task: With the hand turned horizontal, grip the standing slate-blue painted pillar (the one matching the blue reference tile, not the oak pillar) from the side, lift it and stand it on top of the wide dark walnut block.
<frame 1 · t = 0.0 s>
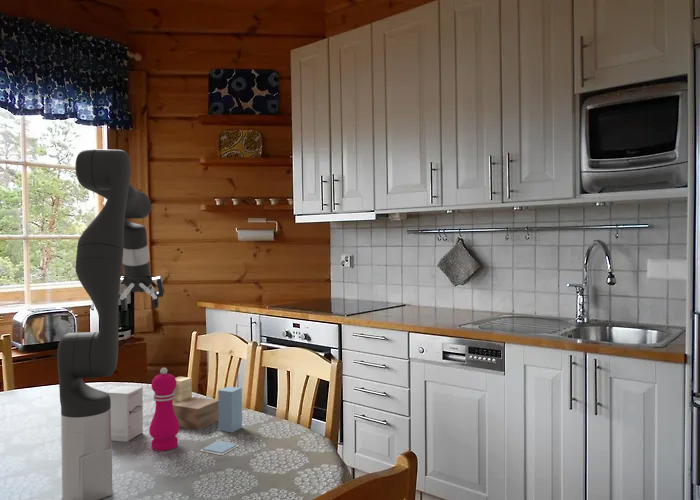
hand: (140, 308, 171), 31 cm above the table, tool tilted 20°, fingers open, 8 cm apart
supplement box: (123, 437, 150), on the table
pepper mill: (164, 447, 142), on the table
reference tile: (219, 448, 141), on the table
walnut block: (196, 423, 161), on the table
blue pillar: (230, 428, 156), on the table
oak pillar: (180, 415, 168), on the table
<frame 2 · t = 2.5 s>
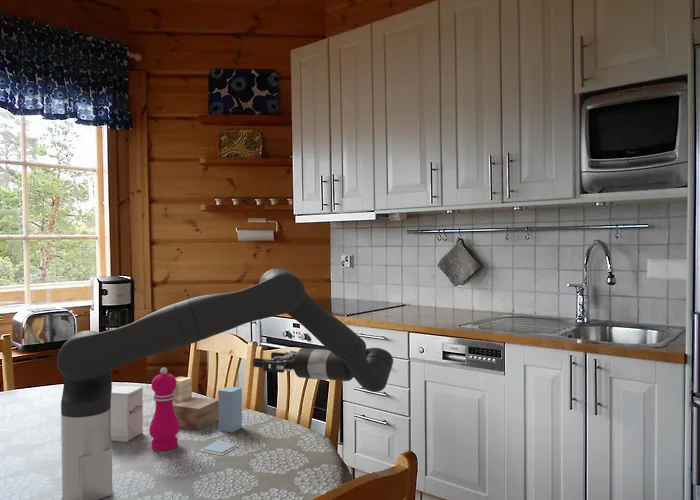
hand: (262, 359, 151), 20 cm above the table, tool horizontal, fingers open, 8 cm apart
nothing on the table moved.
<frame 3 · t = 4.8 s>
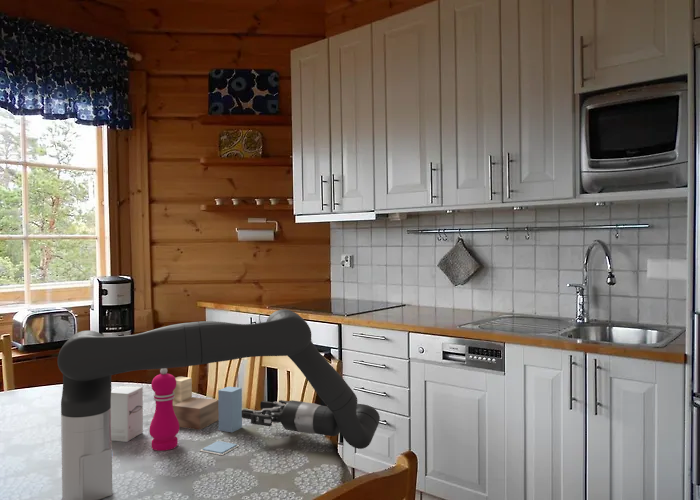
hand: (251, 409, 152), 6 cm above the table, tool horizontal, fingers open, 8 cm apart
nothing on the table moved.
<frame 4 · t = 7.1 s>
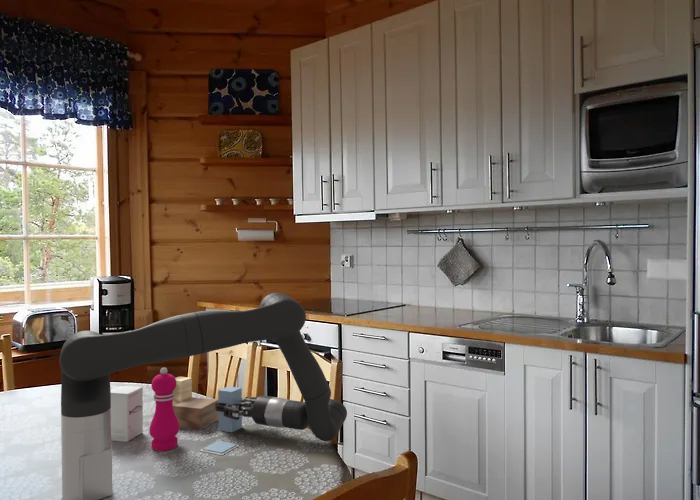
hand: (222, 404, 157), 7 cm above the table, tool horizontal, fingers closed on blue pillar, 4 cm apart
blue pillar: (230, 428, 156), on the table, touching gripper
everything else where it was.
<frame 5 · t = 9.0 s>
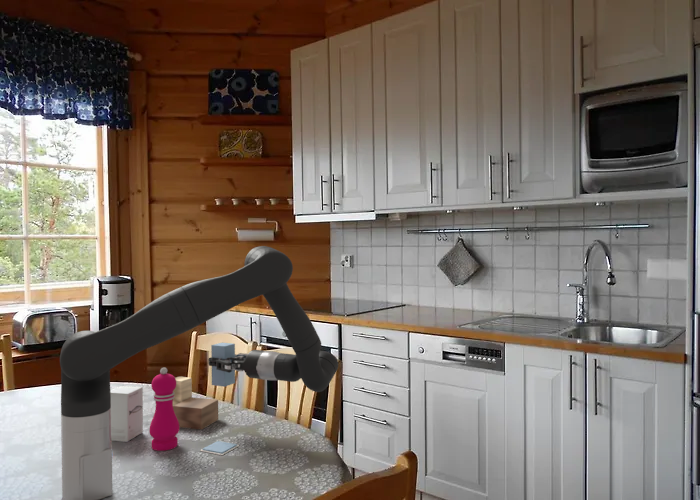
hand: (215, 359, 157), 19 cm above the table, tool horizontal, fingers closed on blue pillar, 4 cm apart
blue pillar: (223, 383, 156), point 12 cm above the table, touching gripper
everything else where it was.
when the fingers open (14 cm above the table, at t = 11.2 s): blue pillar drops 2 cm, resting on walnut block.
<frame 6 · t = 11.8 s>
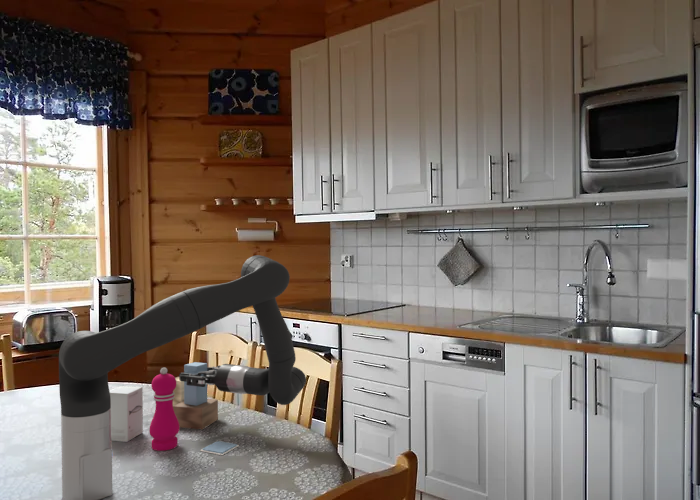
hand: (190, 373, 161), 14 cm above the table, tool horizontal, fingers open, 8 cm apart
walnut block: (196, 423, 161), on the table, touching blue pillar
blue pillar: (195, 402, 161), point 6 cm above the table, touching walnut block
everything else where it was.
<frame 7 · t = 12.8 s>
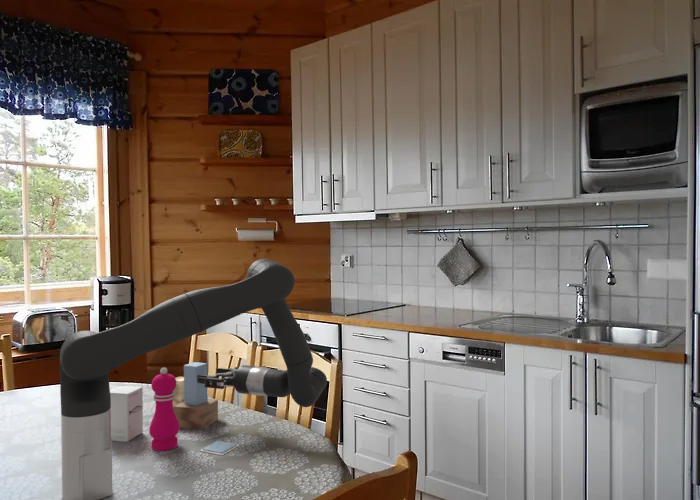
hand: (207, 375, 159), 14 cm above the table, tool horizontal, fingers open, 8 cm apart
nothing on the table moved.
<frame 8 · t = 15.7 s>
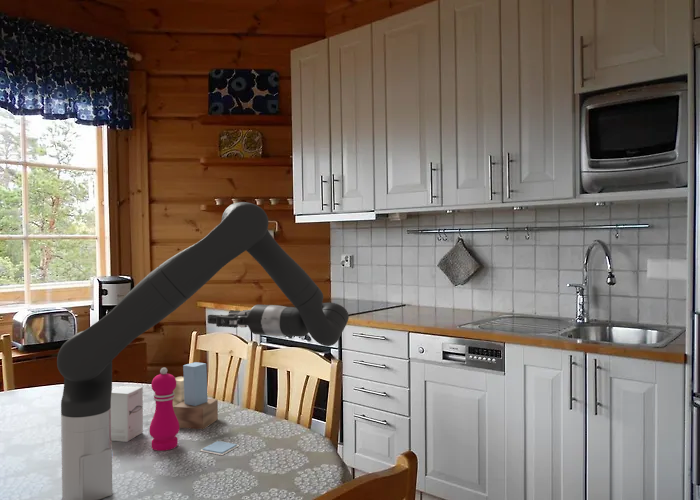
hand: (219, 316, 147), 32 cm above the table, tool horizontal, fingers open, 8 cm apart
walnut block: (196, 423, 161), on the table
blue pillar: (196, 402, 160), point 6 cm above the table
everything else where it was.
at the end: blue pillar 0.1 cm off-centre on the walnut block, point 6.0 cm above the walnut block's base; blue pillar tilted 0°; the gripper is holding nothing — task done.
